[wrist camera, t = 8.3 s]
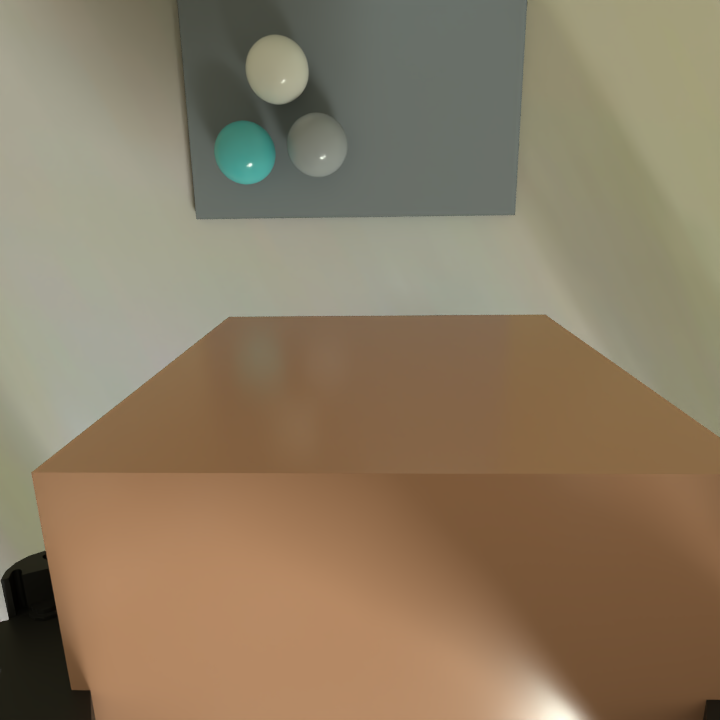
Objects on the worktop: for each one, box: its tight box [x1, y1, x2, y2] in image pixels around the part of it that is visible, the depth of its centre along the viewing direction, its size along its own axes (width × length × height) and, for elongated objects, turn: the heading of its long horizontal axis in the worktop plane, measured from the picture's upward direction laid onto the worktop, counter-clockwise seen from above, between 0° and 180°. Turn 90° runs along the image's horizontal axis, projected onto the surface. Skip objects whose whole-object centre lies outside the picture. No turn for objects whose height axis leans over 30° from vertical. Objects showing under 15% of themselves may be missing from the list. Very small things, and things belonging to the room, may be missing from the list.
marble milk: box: [245, 34, 309, 105], centre depth 28 cm, size 3×3×3 cm
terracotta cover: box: [31, 315, 720, 720], centre depth 13 cm, size 9×9×10 cm
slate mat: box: [177, 0, 527, 219], centre depth 29 cm, size 17×18×1 cm
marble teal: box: [214, 120, 276, 185], centre depth 29 cm, size 3×3×3 cm
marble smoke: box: [287, 112, 348, 177], centre depth 28 cm, size 3×3×3 cm
